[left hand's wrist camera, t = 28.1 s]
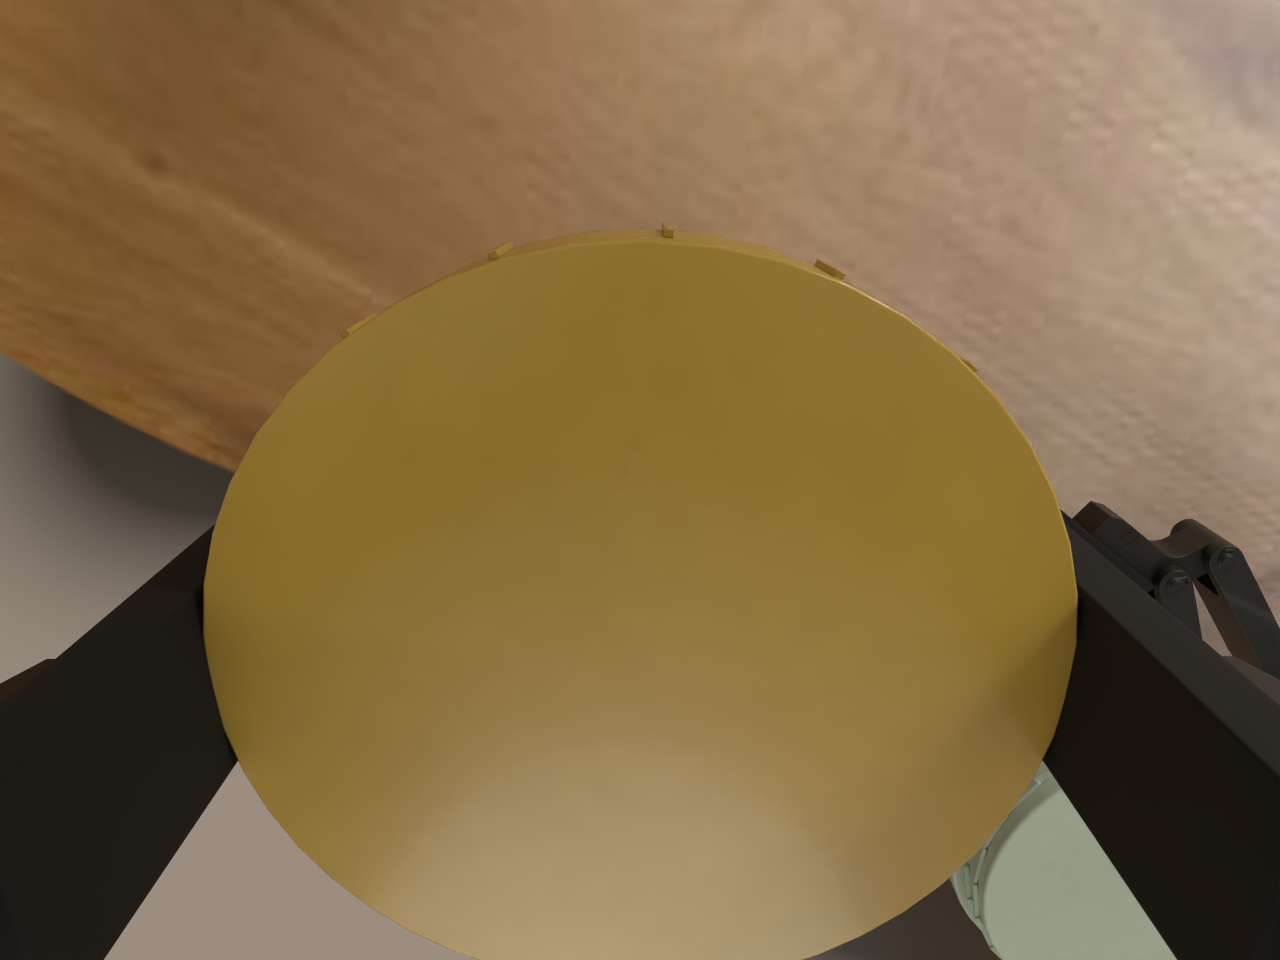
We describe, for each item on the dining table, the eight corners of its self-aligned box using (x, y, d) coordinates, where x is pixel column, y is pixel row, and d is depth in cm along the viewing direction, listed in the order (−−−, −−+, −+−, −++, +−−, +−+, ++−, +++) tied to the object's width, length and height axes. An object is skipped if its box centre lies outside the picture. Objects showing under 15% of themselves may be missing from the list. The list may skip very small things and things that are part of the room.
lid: (1007, 867, 14) (1052, 956, 12) (360, 923, 14) (326, 1015, 13) (1052, 173, 10) (1131, 175, 8) (143, 286, 10) (54, 307, 9)
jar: (795, 627, 40) (908, 972, 23) (880, 442, 36) (1089, 690, 19) (980, 679, 41) (1218, 1045, 24) (1080, 506, 37) (1444, 792, 20)
